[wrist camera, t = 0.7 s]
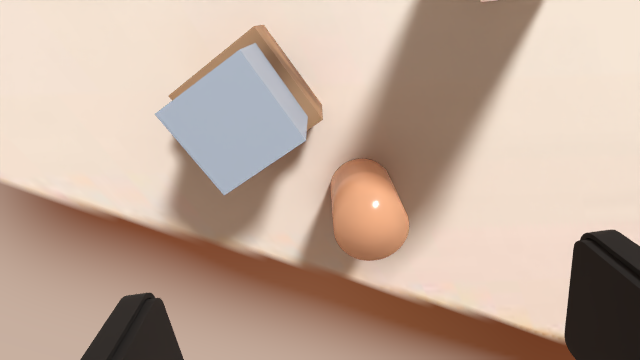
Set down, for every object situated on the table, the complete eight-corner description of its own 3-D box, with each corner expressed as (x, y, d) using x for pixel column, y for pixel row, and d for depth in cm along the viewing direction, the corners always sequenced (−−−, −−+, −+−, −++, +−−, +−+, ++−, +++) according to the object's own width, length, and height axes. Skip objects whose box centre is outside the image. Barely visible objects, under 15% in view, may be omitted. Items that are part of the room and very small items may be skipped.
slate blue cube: (307, 116, 26) (305, 140, 21) (241, 162, 27) (224, 195, 22) (255, 42, 24) (239, 49, 19) (186, 94, 26) (154, 114, 20)
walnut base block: (321, 104, 31) (322, 119, 26) (251, 155, 32) (240, 178, 28) (263, 24, 29) (253, 26, 24) (191, 83, 30) (168, 96, 26)
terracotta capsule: (402, 193, 34) (423, 235, 27) (352, 224, 35) (361, 272, 28) (369, 146, 32) (382, 179, 26) (318, 181, 33) (318, 221, 27)
